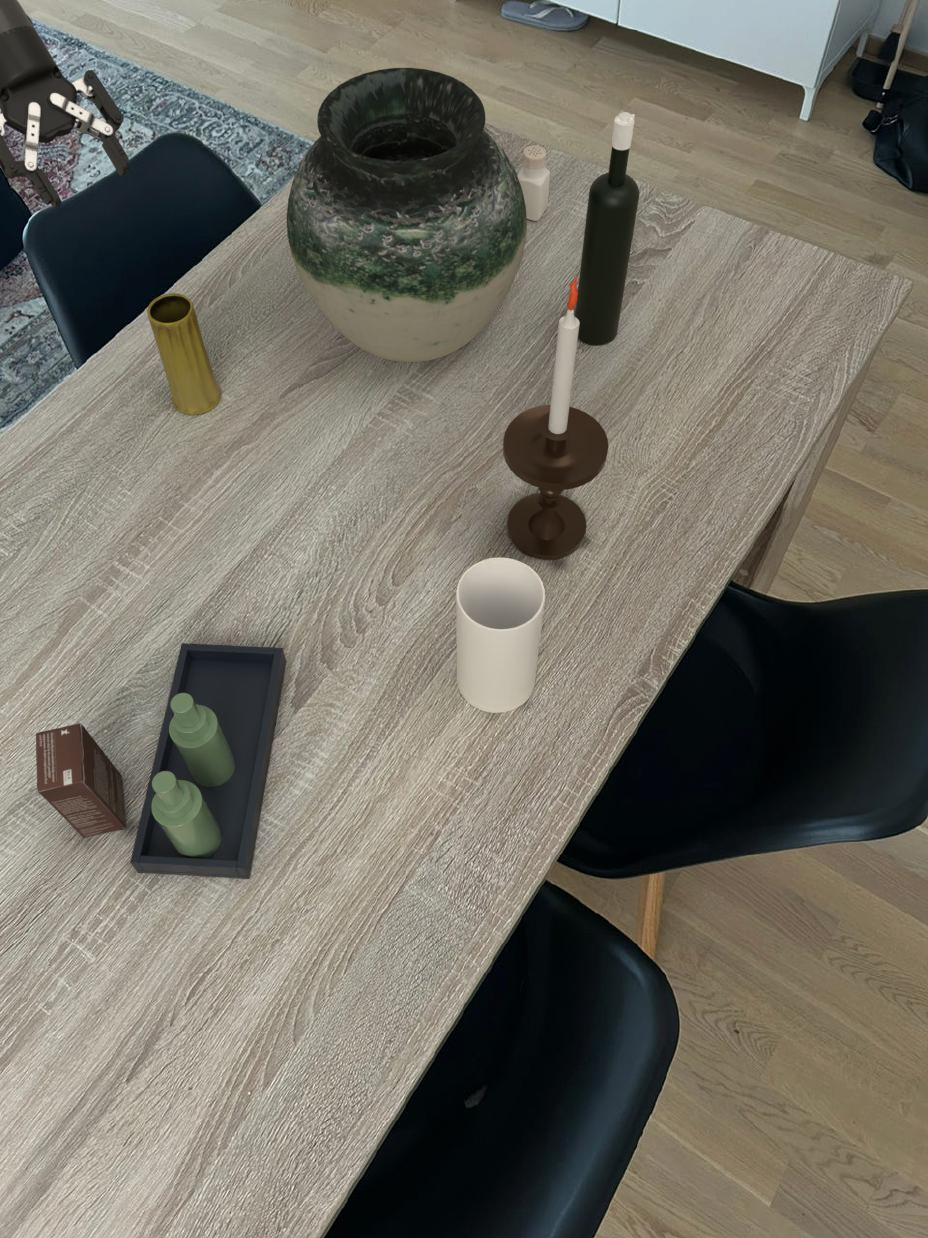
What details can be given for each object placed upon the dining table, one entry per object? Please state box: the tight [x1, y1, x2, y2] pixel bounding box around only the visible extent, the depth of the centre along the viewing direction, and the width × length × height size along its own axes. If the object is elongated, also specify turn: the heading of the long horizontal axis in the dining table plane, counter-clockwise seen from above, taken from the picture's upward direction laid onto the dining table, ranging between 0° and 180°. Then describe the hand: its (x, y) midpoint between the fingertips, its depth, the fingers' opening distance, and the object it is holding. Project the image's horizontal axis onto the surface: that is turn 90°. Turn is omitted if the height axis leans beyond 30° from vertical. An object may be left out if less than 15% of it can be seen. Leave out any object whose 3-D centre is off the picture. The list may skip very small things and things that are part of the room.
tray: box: [129, 642, 287, 880], centre depth 103 cm, size 11×24×3 cm, turn 177°
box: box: [35, 722, 126, 839], centre depth 96 cm, size 6×4×12 cm
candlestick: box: [502, 276, 609, 561], centre depth 105 cm, size 11×11×35 cm
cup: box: [455, 557, 546, 714], centre depth 102 cm, size 8×8×16 cm
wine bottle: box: [574, 110, 640, 346], centre depth 124 cm, size 6×6×30 cm
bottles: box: [151, 693, 235, 859], centre depth 95 cm, size 4×12×14 cm, turn 177°
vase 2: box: [286, 67, 528, 363], centre depth 124 cm, size 28×28×30 cm
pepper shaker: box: [517, 144, 551, 222], centre depth 146 cm, size 4×4×10 cm
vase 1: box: [146, 292, 222, 416], centre depth 124 cm, size 6×6×14 cm
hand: (91, 188), depth 115 cm, fingers open, 8 cm apart
